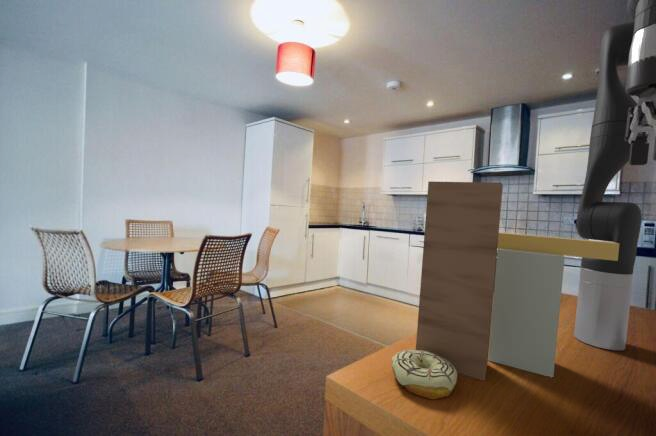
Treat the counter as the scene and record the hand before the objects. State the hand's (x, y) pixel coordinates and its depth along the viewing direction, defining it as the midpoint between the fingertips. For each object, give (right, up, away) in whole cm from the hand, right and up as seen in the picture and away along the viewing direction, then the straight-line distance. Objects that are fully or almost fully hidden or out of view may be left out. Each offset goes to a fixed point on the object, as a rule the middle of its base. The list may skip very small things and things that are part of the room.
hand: (649, 163), depth 51 cm
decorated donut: (-36, -37, +2) cm, 52 cm away
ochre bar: (-11, -16, +9) cm, 21 cm away
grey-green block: (-14, -37, +11) cm, 42 cm away
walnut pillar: (-29, -37, +9) cm, 47 cm away
